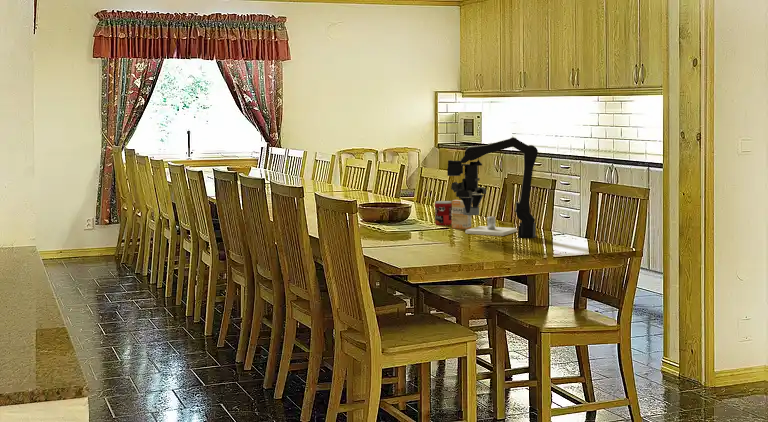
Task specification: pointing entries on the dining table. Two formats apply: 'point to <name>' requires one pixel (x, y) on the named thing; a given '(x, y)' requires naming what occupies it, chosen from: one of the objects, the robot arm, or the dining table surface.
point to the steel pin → (491, 223)
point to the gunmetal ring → (471, 211)
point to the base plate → (491, 231)
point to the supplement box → (460, 216)
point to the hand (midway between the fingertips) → (471, 212)
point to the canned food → (443, 212)
